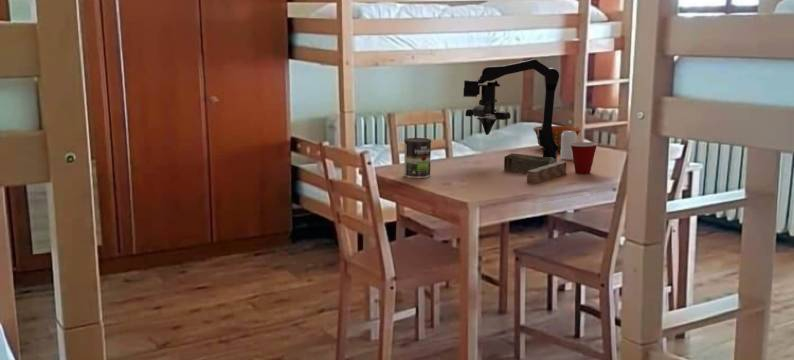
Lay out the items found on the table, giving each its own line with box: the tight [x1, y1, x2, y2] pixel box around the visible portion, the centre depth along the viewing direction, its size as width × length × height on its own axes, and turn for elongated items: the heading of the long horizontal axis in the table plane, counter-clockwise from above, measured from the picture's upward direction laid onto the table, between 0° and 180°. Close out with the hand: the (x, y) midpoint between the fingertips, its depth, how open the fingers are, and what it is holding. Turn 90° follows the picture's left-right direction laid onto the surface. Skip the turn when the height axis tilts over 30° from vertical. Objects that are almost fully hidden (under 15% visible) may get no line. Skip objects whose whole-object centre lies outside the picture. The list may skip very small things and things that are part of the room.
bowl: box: [533, 125, 581, 151], centre depth 373 cm, size 21×21×10 cm
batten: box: [526, 160, 567, 185], centre depth 311 cm, size 26×3×4 cm, turn 142°
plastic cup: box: [570, 141, 599, 175], centre depth 321 cm, size 11×11×12 cm
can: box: [560, 130, 578, 161], centre depth 350 cm, size 6×6×12 cm
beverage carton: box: [503, 153, 556, 174], centre depth 323 cm, size 8×19×7 cm, turn 60°
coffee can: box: [403, 137, 432, 179], centre depth 313 cm, size 10×10×14 cm
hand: (487, 134), depth 338 cm, fingers closed
